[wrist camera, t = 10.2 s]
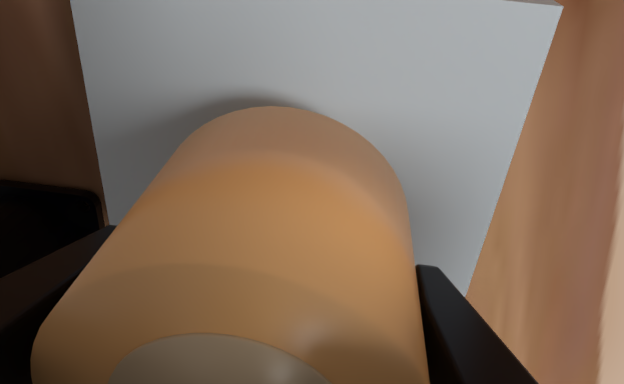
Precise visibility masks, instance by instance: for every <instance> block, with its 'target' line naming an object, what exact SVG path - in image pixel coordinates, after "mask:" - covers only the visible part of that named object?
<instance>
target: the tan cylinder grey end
mask: <svg viewBox="0 0 624 384" xmlns="http://www.w3.org/2000/svg"><path fill="white" fill-rule="evenodd" d="M30 362H31V378H32V383H33V384H430V379H429V372H428V364H427V356H426V348H425V340H424V332H423V324H422V316H421V308H420V300H419V292H418V284H417V277H416V269H415V261H414V253H413V245H412V237H411V229H410V221H409V213H408V207H407V202H406V197H405V194H404V191H403V189H402V186H401V183H400V181H399V179H398V177H397V175H396V174H395V172H394V170H393V168H392V167H391V166H390V164H389V163H388V161H387V160H386V159H385V157H384V156H383V155H382V154H381V153H380V152H379V151H378V150H377V149H376V148H375V147H374V146H373V145H372V144H371V143H370V142H369V141H368V140H366V139H365V138H364V137H363V136H361V135H360V134H359V133H357V132H356V131H354V130H352V129H351V128H349V127H347V126H346V125H344V124H343V123H340V122H338V121H336V120H334V119H331V118H329V117H327V116H324V115H321V114H318V113H315V112H311V111H308V110H303V109H297V108H292V107H279V106H264V107H252V108H247V109H242V110H237V111H234V112H231V113H228V114H225V115H222V116H219V117H217V118H215V119H213V120H211V121H210V122H208V123H206V124H204V125H203V126H201V127H200V128H198V129H197V130H196V131H194V132H193V133H192V134H190V135H189V136H188V137H187V138H186V139H185V140H184V141H183V142H182V143H181V144H180V146H179V147H178V148H177V150H176V151H175V152H174V153H173V155H172V156H171V157H170V159H169V160H168V161H167V163H166V164H165V165H164V166H163V168H162V169H161V170H160V172H159V173H158V174H157V175H156V177H155V178H154V179H153V181H152V182H151V183H150V184H149V186H148V187H147V188H146V190H145V191H144V192H143V193H142V195H141V196H140V197H139V199H138V200H137V201H136V202H135V204H134V205H133V206H132V208H131V209H130V210H129V212H128V213H127V214H126V215H125V217H124V218H123V219H122V221H121V222H120V223H119V224H118V226H117V227H116V228H115V230H114V231H113V232H112V233H111V235H110V236H109V237H108V239H107V240H106V241H105V242H104V244H103V245H102V246H101V248H100V249H99V250H98V251H97V253H96V254H95V255H94V257H93V258H92V259H91V260H90V262H89V263H88V264H87V266H86V267H85V268H84V270H83V271H82V272H81V273H80V275H79V276H78V277H77V279H76V280H75V281H74V282H73V284H72V285H71V286H70V288H69V289H68V290H67V291H66V293H65V294H64V295H63V297H62V298H61V299H60V300H59V302H58V303H57V304H56V306H55V307H54V308H53V309H52V311H51V312H50V314H49V315H48V316H47V318H46V319H45V321H44V322H43V323H42V325H41V326H40V328H39V331H38V333H37V335H36V338H35V340H34V343H33V348H32V353H31V359H30Z"/></svg>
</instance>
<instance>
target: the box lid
mask: <svg viewBox="0 0 624 384" xmlns="http://www.w3.org/2000/svg"><path fill="white" fill-rule="evenodd" d="M70 3H71V9H72V14H73V20H74V26H75V31H76V37H77V43H78V49H79V54H80V60H81V66H82V71H83V77H84V83H85V88H86V94H87V100H88V105H89V111H90V117H91V122H92V128H93V134H94V139H95V145H96V151H97V156H98V162H99V168H100V173H101V179H102V185H103V190H104V196H105V202H106V207H107V213H108V219H109V224H110V225H117V226H118V224H119V223H120V222H121V221H122V219H123V218H124V217H125V215H126V214H127V213H128V212H129V210H130V209H131V208H132V206H133V205H134V204H135V202H136V201H137V200H138V199H139V197H140V196H141V195H142V193H143V192H144V191H145V190H146V188H147V187H148V186H149V184H150V183H151V182H152V181H153V179H154V178H155V177H156V175H157V174H158V173H159V172H160V170H161V169H162V168H163V166H164V165H165V164H166V163H167V161H168V160H169V159H170V157H171V156H172V155H173V153H174V152H175V151H176V150H177V148H178V147H179V146H180V144H181V143H182V142H183V141H184V140H185V139H186V138H187V137H188V136H189V135H190V134H192V133H193V132H194V131H196V130H197V129H198V128H200V127H201V126H203V125H204V124H206V123H208V122H210V121H211V120H213V119H215V118H217V117H219V116H222V115H225V114H228V113H231V112H234V111H237V110H242V109H247V108H252V107H264V106H279V107H292V108H297V109H303V110H308V111H311V112H315V113H318V114H321V115H324V116H327V117H329V118H331V119H334V120H336V121H338V122H340V123H343V124H344V125H346V126H347V127H349V128H351V129H352V130H354V131H356V132H357V133H359V134H360V135H361V136H363V137H364V138H365V139H366V140H368V141H369V142H370V143H371V144H372V145H373V146H374V147H375V148H376V149H377V150H378V151H379V152H380V153H381V154H382V155H383V156H384V157H385V159H386V160H387V161H388V163H389V164H390V166H391V167H392V168H393V170H394V172H395V174H396V175H397V177H398V179H399V181H400V183H401V186H402V189H403V191H404V194H405V197H406V202H407V207H408V213H409V221H410V229H411V237H412V245H413V253H414V261H415V266H416V265H417V264H422V265H430V266H436V267H438V268H440V269H441V270H442V272H443V273H444V274H445V275H446V276H447V277H448V279H449V280H450V281H451V282H452V283H453V284H454V286H455V287H456V288H457V289H458V290H459V291H460V293H461V294H462V295H463V296H464V297H465V296H466V293H467V290H468V287H469V284H470V281H471V278H472V275H473V272H474V269H475V266H476V263H477V260H478V257H479V255H480V252H481V249H482V246H483V243H484V240H485V237H486V234H487V231H488V228H489V225H490V222H491V219H492V216H493V213H494V210H495V207H496V204H497V201H498V198H499V195H500V192H501V190H502V187H503V184H504V181H505V178H506V175H507V172H508V169H509V166H510V163H511V160H512V157H513V154H514V151H515V148H516V145H517V142H518V139H519V136H520V133H521V130H522V127H523V125H524V122H525V119H526V116H527V113H528V110H529V107H530V104H531V101H532V98H533V95H534V92H535V89H536V86H537V83H538V80H539V77H540V74H541V71H542V68H543V65H544V62H545V59H546V57H547V54H548V51H549V48H550V45H551V42H552V39H553V36H554V33H555V30H556V27H557V24H558V21H559V18H560V15H561V12H562V9H563V6H562V5H560V4H559V3H557V2H555V1H554V0H70Z"/></svg>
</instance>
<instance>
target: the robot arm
mask: <svg viewBox="0 0 624 384" xmlns="http://www.w3.org/2000/svg"><path fill="white" fill-rule="evenodd" d="M83 201H84V202H86V203H87V204H89V206H86V205H85V204H84V203H83ZM116 227H117V225H108V226H106V227H105V226H104V220H103V214H102V208H101V202H100V200H99V198H98V197H97V196H96V195H95V194H94V193H92V192H90V191H87V190H79V189H71V188H63V187H55V186H47V185H39V184H31V183H23V182H15V181H7V180H0V384H33V383H32V378H31V362H30V359H31V353H32V348H33V343H34V340H35V338H36V335H37V333H38V331H39V328H40V326H41V325H42V323H43V322H44V321H45V319H46V318H47V316H48V315H49V314H50V312H51V311H52V309H53V308H54V307H55V306H56V304H57V303H58V302H59V300H60V299H61V298H62V297H63V295H64V294H65V293H66V291H67V290H68V289H69V288H70V286H71V285H72V284H73V282H74V281H75V280H76V279H77V277H78V276H79V275H80V273H81V272H82V271H83V270H84V268H85V267H86V266H87V264H88V263H89V262H90V260H91V259H92V258H93V257H94V255H95V254H96V253H97V251H98V250H99V249H100V248H101V246H102V245H103V244H104V242H105V241H106V240H107V239H108V237H109V236H110V235H111V233H112V232H113V231H114V230H115V228H116ZM415 269H416V277H417V284H418V292H419V300H420V308H421V316H422V324H423V332H424V340H425V348H426V356H427V364H428V372H429V379H430V384H538V382H537V381H536V380H535V379H534V378H533V377H532V375H531V374H530V373H529V372H528V371H527V370H526V368H525V367H524V366H523V365H522V364H521V363H520V361H519V360H518V359H517V358H516V357H515V356H514V354H513V353H512V352H511V351H510V350H509V349H508V347H507V346H506V345H505V344H504V343H503V342H502V340H501V339H500V338H499V337H498V336H497V335H496V333H495V332H494V331H493V330H492V329H491V328H490V326H489V325H488V324H487V323H486V322H485V321H484V319H483V318H482V317H481V316H480V315H479V314H478V312H477V311H476V310H475V309H474V308H473V307H472V305H471V304H470V303H469V302H468V301H467V300H466V298H465V297H464V296H463V295H462V294H461V293H460V291H459V290H458V289H457V288H456V287H455V286H454V284H453V283H452V282H451V281H450V280H449V279H448V277H447V276H446V275H445V274H444V273H443V272H442V270H441V269H440V268H438V267H436V266H430V265H422V264H417V265H416V266H415Z"/></svg>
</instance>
